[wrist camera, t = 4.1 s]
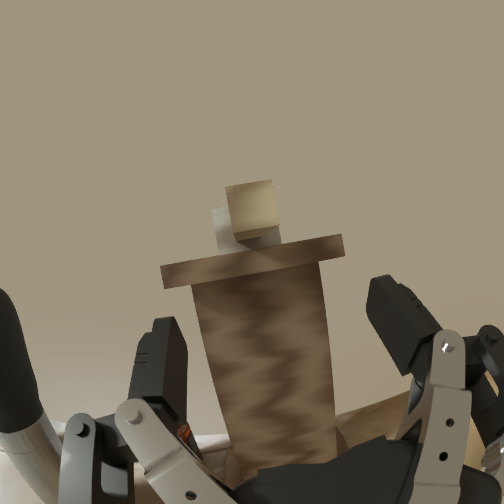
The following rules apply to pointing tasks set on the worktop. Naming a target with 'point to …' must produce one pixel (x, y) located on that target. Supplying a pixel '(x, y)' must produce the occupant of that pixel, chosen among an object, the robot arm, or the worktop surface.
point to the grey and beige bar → (247, 218)
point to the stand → (268, 351)
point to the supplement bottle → (189, 439)
